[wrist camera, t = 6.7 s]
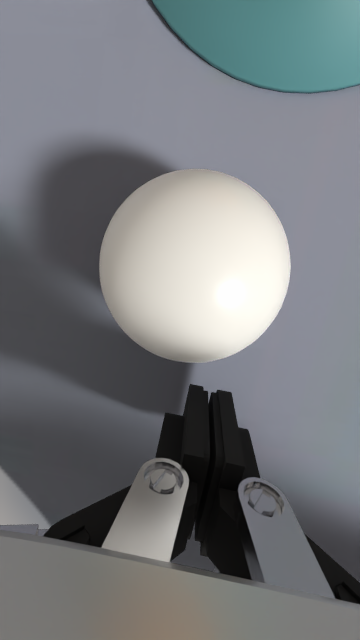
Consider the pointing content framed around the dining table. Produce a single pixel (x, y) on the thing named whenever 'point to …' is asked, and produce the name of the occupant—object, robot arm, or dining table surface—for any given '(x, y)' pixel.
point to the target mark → (273, 40)
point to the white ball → (194, 265)
